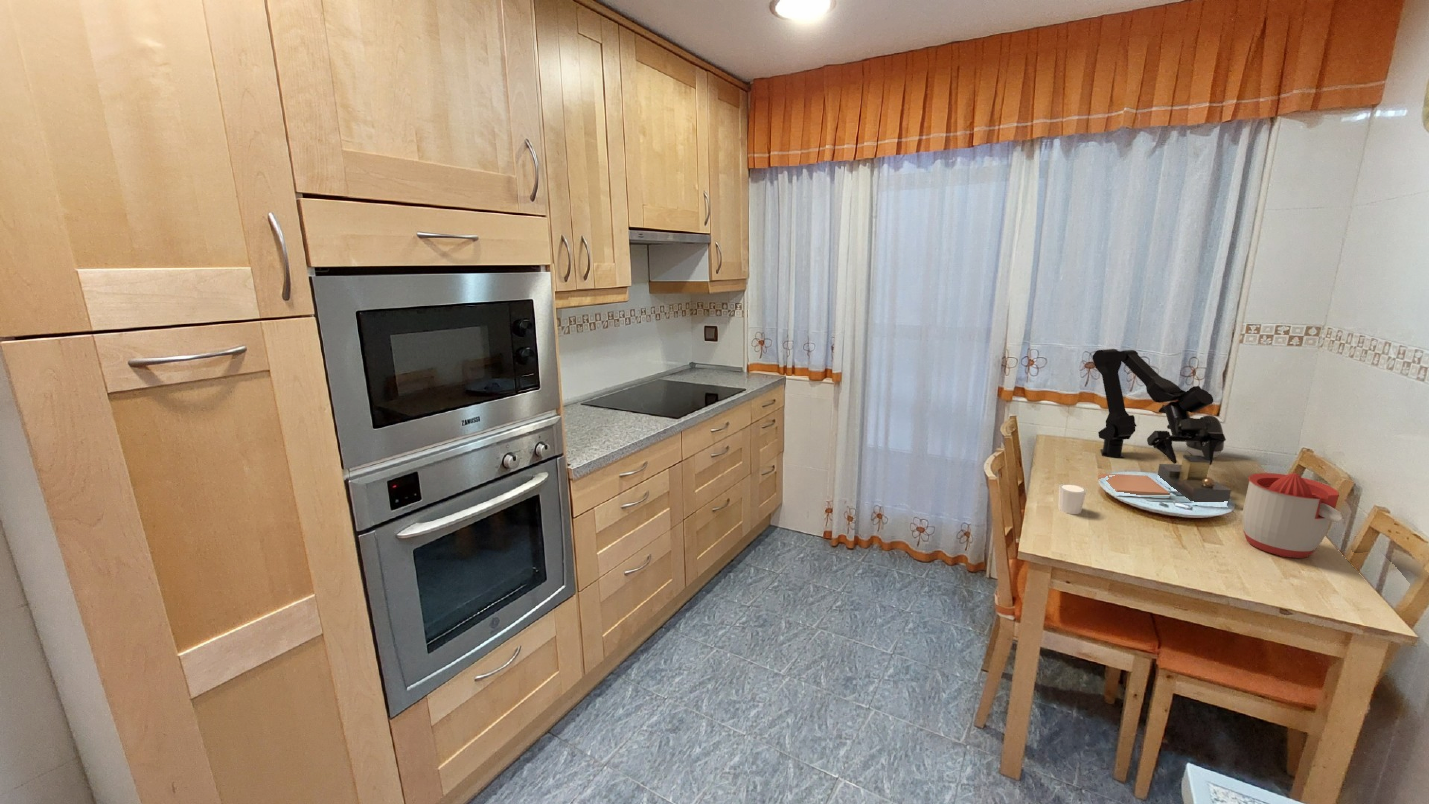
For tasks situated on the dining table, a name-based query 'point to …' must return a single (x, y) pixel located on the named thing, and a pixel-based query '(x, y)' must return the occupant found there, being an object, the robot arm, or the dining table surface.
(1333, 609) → the dining table surface
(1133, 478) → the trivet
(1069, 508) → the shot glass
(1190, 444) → the dark grey egg shape
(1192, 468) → the tan wooden block
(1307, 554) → the citrus juicer
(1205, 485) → the body
